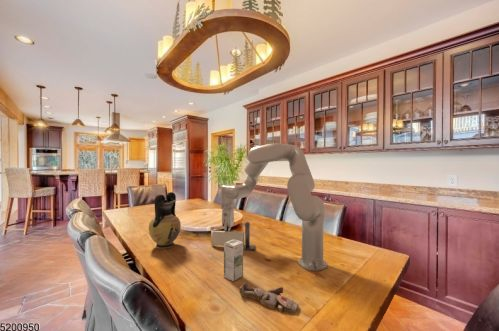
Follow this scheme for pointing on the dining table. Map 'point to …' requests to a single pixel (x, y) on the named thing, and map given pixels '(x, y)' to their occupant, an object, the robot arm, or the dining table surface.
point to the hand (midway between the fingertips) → (227, 237)
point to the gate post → (248, 238)
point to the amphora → (164, 221)
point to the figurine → (270, 298)
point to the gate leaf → (226, 237)
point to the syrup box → (233, 259)
